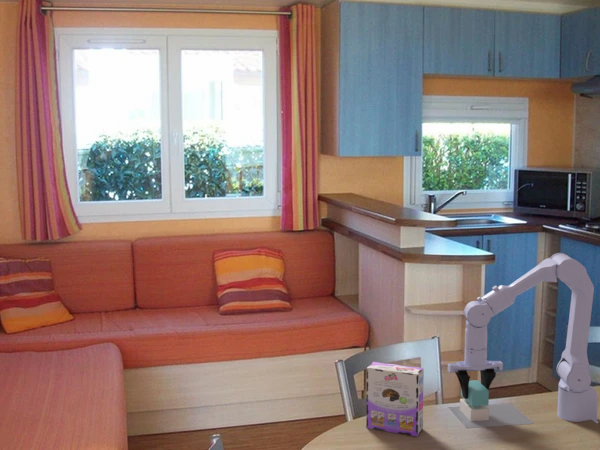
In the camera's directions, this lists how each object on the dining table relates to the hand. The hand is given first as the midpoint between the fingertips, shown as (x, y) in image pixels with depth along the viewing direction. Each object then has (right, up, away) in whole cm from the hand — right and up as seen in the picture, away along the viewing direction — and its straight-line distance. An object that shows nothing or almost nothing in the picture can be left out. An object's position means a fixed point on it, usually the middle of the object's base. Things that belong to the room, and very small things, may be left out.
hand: (474, 396), depth 196 cm
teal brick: (0, -1, 0) cm, 1 cm away
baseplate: (+4, -6, 0) cm, 7 cm away
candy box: (-22, -7, -6) cm, 24 cm away
